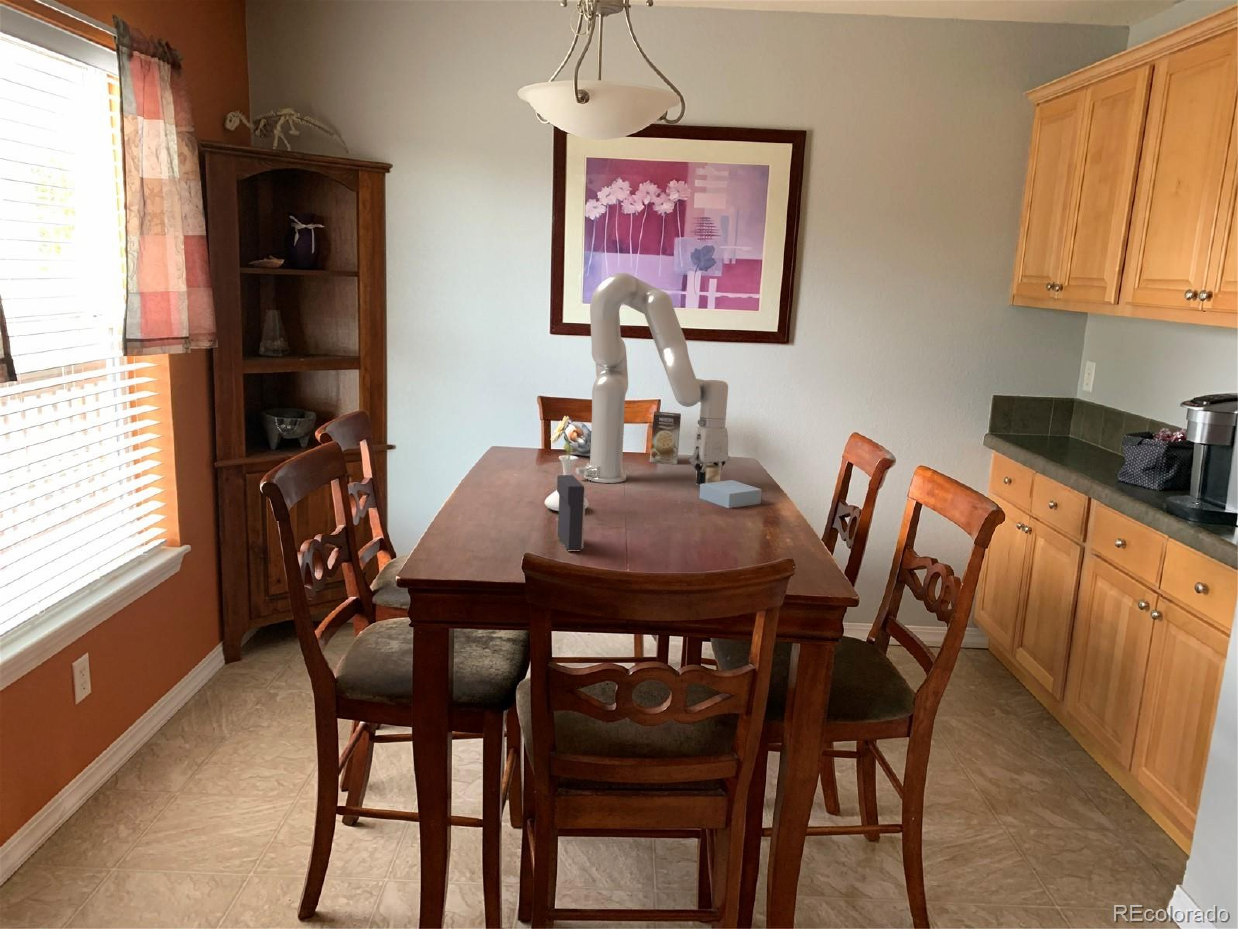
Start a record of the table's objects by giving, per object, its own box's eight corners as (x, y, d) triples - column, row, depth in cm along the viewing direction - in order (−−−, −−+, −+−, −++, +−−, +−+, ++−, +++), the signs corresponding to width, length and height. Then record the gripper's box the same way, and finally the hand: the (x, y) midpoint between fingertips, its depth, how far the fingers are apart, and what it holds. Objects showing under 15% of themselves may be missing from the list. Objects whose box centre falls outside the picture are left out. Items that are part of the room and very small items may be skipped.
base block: (728, 508, 244) (729, 493, 244) (699, 497, 254) (700, 484, 253) (760, 503, 251) (761, 489, 251) (730, 493, 261) (731, 480, 260)
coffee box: (649, 462, 296) (652, 413, 293) (650, 458, 303) (653, 410, 299) (677, 464, 295) (680, 415, 292) (678, 460, 302) (681, 412, 298)
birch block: (706, 488, 265) (708, 468, 264) (695, 484, 269) (697, 464, 268) (719, 486, 268) (721, 466, 267) (708, 483, 272) (709, 463, 271)
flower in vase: (551, 502, 241) (554, 408, 236) (593, 506, 239) (597, 412, 234) (536, 514, 229) (540, 416, 223) (580, 519, 227) (585, 420, 221)
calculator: (584, 552, 201) (587, 486, 198) (565, 552, 200) (568, 486, 197) (572, 537, 211) (575, 474, 208) (554, 538, 210) (557, 474, 207)
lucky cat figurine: (611, 458, 300) (601, 424, 292) (578, 472, 298) (567, 438, 290) (596, 436, 312) (586, 403, 304) (564, 450, 310) (553, 417, 302)
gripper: (698, 426, 257) (694, 489, 261) (742, 423, 267) (737, 483, 271) (681, 422, 263) (677, 483, 266) (725, 419, 273) (720, 478, 276)
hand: (707, 483), depth 268 cm, fingers closed on birch block, 5 cm apart
